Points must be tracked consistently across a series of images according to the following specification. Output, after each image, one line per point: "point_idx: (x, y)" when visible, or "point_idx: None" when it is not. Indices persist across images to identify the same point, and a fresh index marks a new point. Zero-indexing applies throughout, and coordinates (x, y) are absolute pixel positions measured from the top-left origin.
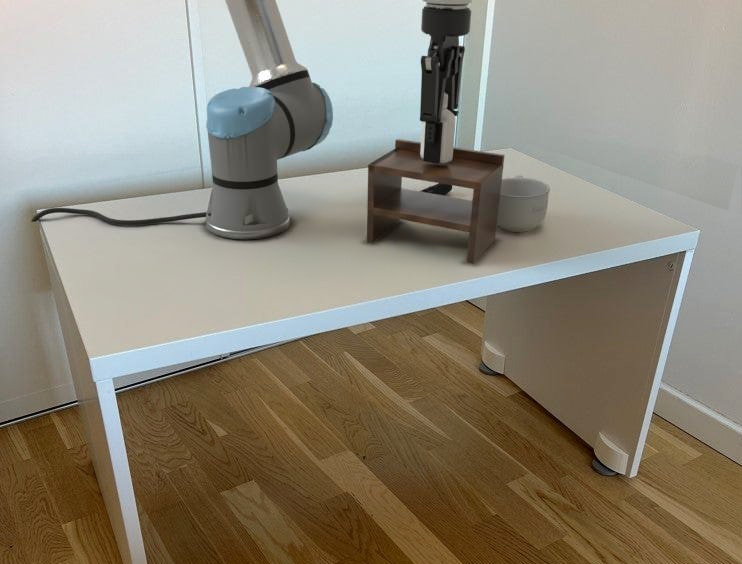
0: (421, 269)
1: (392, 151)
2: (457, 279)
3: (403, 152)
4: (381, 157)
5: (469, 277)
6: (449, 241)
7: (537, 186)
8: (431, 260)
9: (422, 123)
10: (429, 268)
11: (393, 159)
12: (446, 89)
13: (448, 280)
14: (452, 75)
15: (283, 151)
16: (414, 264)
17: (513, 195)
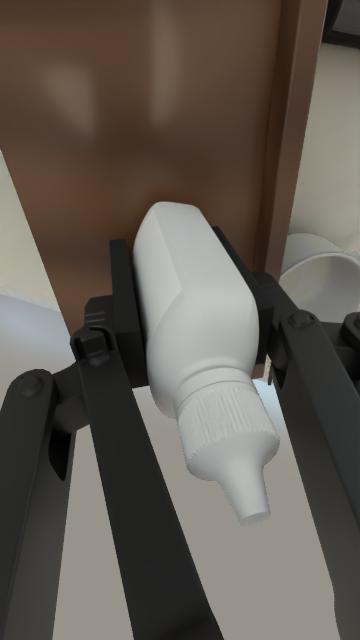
0: (4, 228)
1: None
2: (22, 292)
3: (237, 56)
4: None
5: (44, 301)
6: None
7: (345, 312)
8: None
9: (173, 270)
10: (21, 237)
11: (112, 72)
12: (309, 467)
13: (7, 284)
14: (336, 600)
15: None
16: (12, 205)
17: (343, 262)
